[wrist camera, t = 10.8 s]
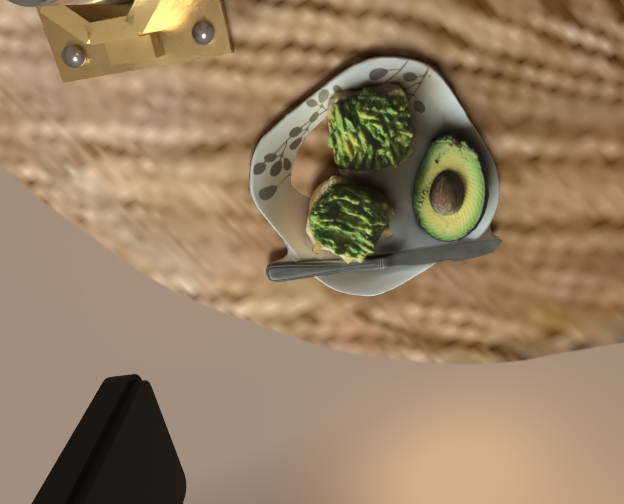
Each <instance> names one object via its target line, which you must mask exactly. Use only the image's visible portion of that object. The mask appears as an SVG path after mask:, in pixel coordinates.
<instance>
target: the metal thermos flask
mask: <svg viewBox="0 0 624 504" xmlns="http://www.w3.org/2000/svg"><path fill="white" fill-rule="evenodd" d="M8 1H10V2H12V3H14V4H17V5H21V6H26V7H43V6H58V5H88V4H111V5H128V4H133V3H134V1H135V0H8Z"/></svg>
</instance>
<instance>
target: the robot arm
mask: <svg viewBox="0 0 624 504" xmlns="http://www.w3.org/2000/svg"><path fill="white" fill-rule="evenodd" d="M185 493H186V478H185V475H184V472H183V469H182V466H181V464H180V461H179V458H178V456H177V453H176V450H175V448H174V445H173V442H172V440H171V437H170V434H169V432H168V429H167V427H166V424H165V421H164V419H163V416H162V413H161V411H160V408H159V405H158V403H157V400H156V398H155V395H154V392H153V389H152V387H151V385H150V383H149V382H148V381H146V380H145V381H142V379H141V378H140V377H139V376H138V375H136V374H133V375H124V376H115V377H109V378H106V379H105V380H104V382H103V383H102V385H101V386H100V388H99V390H98V391H97V393H96V395H95V397H94V398H93V400H92V402H91V403H90V405H89V407H88V408H87V410H86V412H85V414H84V415H83V417H82V419H81V420H80V422H79V424H78V426H77V427H76V429H75V431H74V432H73V434H72V436H71V437H70V439H69V441H68V443H67V444H66V446H65V448H64V450H63V451H62V453H61V454H60V456H59V458H58V460H57V461H56V463H55V465H54V467H53V468H52V470H51V472H50V473H49V475H48V477H47V478H46V480H45V482H44V484H43V485H42V487H41V489H40V491H39V492H38V494H37V495H36V497H35V499H34V501H33V502H32V504H183V501H184V498H185Z"/></svg>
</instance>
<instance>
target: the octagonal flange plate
mask: <svg viewBox="0 0 624 504" xmlns="http://www.w3.org/2000/svg"><path fill="white" fill-rule="evenodd" d="M37 10H38V13H39V16H40V19H41V21H42V24H43V27H44V30H45V33H46V35H47V38H48V41H49V44H50V47H51V49H52V52H53V55H54V58H55V61H56V63H57V66H58V69H59V72H60V75H61V78H62V80H63V83H64V82H69V81H75V80H81V79H86V78H92V77H98V76H103V75H109V74H115V73H121V72H126V71H132V70H138V69H143V68H149V67H155V66H160V65H166V64H172V63H177V62H183V61H189V60H195V59H200V58H206V57H212V56H217V55H223V54H229V53H232V52H234V50H233V45H232V41H231V36H230V31H229V27H228V22H227V17H226V13H225V8H224V3H223V0H135V1H134V3H133V4H128V5H111V4H88V5H58V6H43V7H37Z"/></svg>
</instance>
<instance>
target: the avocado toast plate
mask: <svg viewBox="0 0 624 504" xmlns="http://www.w3.org/2000/svg"><path fill="white" fill-rule="evenodd" d="M416 111H417V112H419V113H417V112H416ZM327 116H328V126H329V132H330V137H329V138H328V140H327V144H328V146H329V147H330V148H333V153H334V160H335V163H336V164H337V165H338V169H337V171H336V172H335V174H334V175H333V176H331V177H330V178H329V179H327V180H325V181H324V182H322V183H321V184H320V185H319V186H318V187H317V188H316V189H315V191H314V192H313V194H312V196H311V199H309V198H307V197H306V196H304V195H302V194H301V193H299V192H298V191H297V190H296V189H295V188H294V187H293V186H292V185H291V170H292V165H293V162H294V160H295V157H296V153H297V151H298V149H299V147H300V145H301V144H302V142H303V141H304V140H305V138H306V136H307V135H308V134H309V133H310V132H311V131H312V130H313V129H314V128H315V127H316V126H317V125H318V124H319V123H320V122H321V121H322V120H324V119H325V118H326V117H327ZM249 194H250V196H251V198H252V199H253V201H254V203H255V205H256V206H257V208H258V209H259V210H260V211H261V213H262V214H263V215H264V217H265V218H266V219H267V221H268V222H269V223H270V225H271V226H272V228H274V229H275V231H276V232H277V233H278V234H279V235H280V236H281V238H282V239H283V241H284V243H285V245H286V246H287V249H288V252H287V255H286V256H285V257H283V258H281V259H280V260H277V261H273V262H272V263H270V264H269V265H268V266H267V269H266V275H267V278H268V279H269V280H270V281H274V282H281V281H290V280H296V279H302V278H308V277H315V278H316V279H318V280H319V281H321V282H323V283H324V284H325V285H327V286H328V287H330V288H332V289H334V290H337V291H340V292H343V293H348V294H354V295H361V296H374V295H379V294H382V293H384V292H386V291H389V290H391V289H393V288H395V287H398V286H399V285H401V284H403V283H405V282H406V281H408V280H410V279H411V278H413V277H414V276H416V275H418V274H419V273H421V272H423V271H425V270H426V269H428V268H429V267H431V266H432V265H434V264H435V263H437V262H442V261H445V260H452V261H454V262H455V261H461V260H467V259H472V258H476V257H480V256H484V255H487V254H489V253H492V252H493V251H494V250H495V249H496V247H497V246H498V245H499V244H500V243H501V242H502V240H501V239H500V238H499V237H498V236H495V235H493V233H492V231H491V223H492V219H493V216H494V214H495V212H496V209H497V206H498V202H499V196H500V180H499V176H498V172H497V168H496V165H495V162H494V160H493V158H492V156H491V154H490V152H489V150H488V148H487V146H486V145H485V143H484V141H483V140H482V138H481V137H480V135H479V133H478V132H477V130H476V128H475V126H474V125H473V123H472V122H471V120H470V119H469V117H468V115H467V113H466V112H465V110H464V108H463V107H462V106H461V104H460V101H459V99H458V97H457V95H456V93H455V91H454V89H453V87H452V86H451V85H450V84H449V83H448V82H447V80H446V79H445V77H444V76H443V74H442V73H441V71H440V70H439V69H438V68H437V67H436V66H435V65H433V64H431V63H430V62H427V61H424V60H422V59H419V58H413V57H407V56H400V55H387V56H375V57H370V58H368V59H365V60H362V61H360V62H357V63H354V64H352V65H350V66H348V67H347V68H345V69H343V70H341V71H339V72H338V73H337V74H335V75H334V76H332V77H331V78H330V79H329V80H328V81H327V82H326V83H325V84H324V85H323V86H322V87H321V88H320V89H319V90H317V91H316V92H315V93H313V94H312V95H311V96H310V97H308V98H307V99H306V100H305V101H303V102H302V103H301V104H300V105H298V106H297V107H296V108H295V109H293V110H292V111H291V112H289V113H288V114H287V115H286V116H285V117H284V118H283V119H281V120H280V121H279V122H278V123H277V124H276V125H275V126H274V127H273V128H272V129H271V130H270V131H268V132H267V133H266V134H265V135H264V136H263V137H262V138H261V139H260V141H259V144H258V145H257V146H256V149H255V152H254V155H253V157H252V159H251V161H250V174H249ZM387 230H390V231H391V232H392V236H390V237H385V236H384V234H383V231H387Z"/></svg>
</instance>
